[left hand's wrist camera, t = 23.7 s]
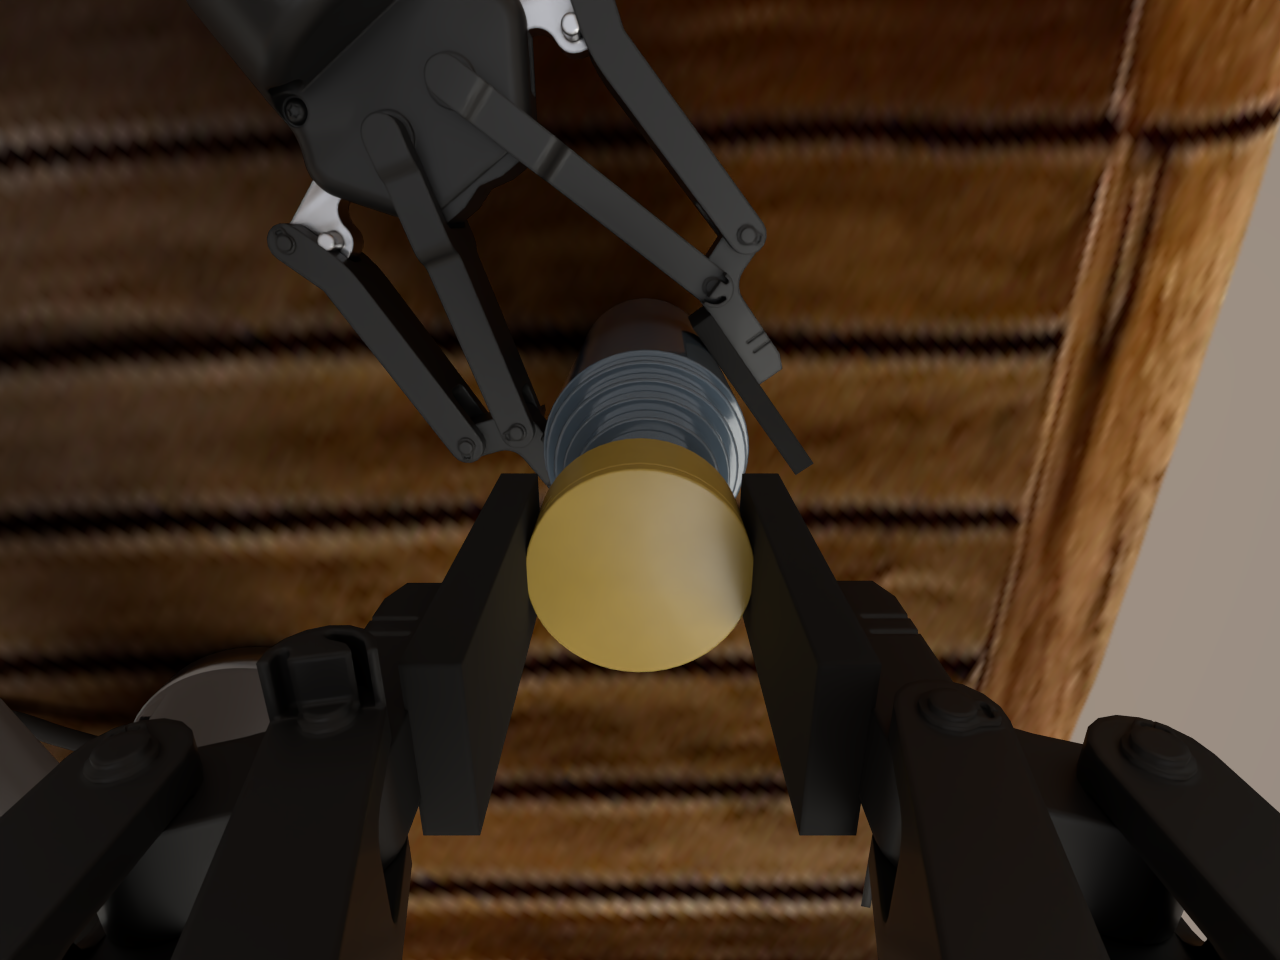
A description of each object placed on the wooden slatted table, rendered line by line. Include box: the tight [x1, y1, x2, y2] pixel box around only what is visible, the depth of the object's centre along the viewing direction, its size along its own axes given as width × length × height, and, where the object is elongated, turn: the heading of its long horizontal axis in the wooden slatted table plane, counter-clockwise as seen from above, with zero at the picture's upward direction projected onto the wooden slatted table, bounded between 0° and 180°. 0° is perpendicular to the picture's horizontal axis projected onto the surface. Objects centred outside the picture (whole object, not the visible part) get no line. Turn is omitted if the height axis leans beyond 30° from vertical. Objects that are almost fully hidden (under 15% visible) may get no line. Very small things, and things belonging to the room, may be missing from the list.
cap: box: [526, 438, 753, 672], centre depth 14 cm, size 4×4×2 cm
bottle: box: [543, 298, 749, 498], centre depth 23 cm, size 6×6×18 cm
